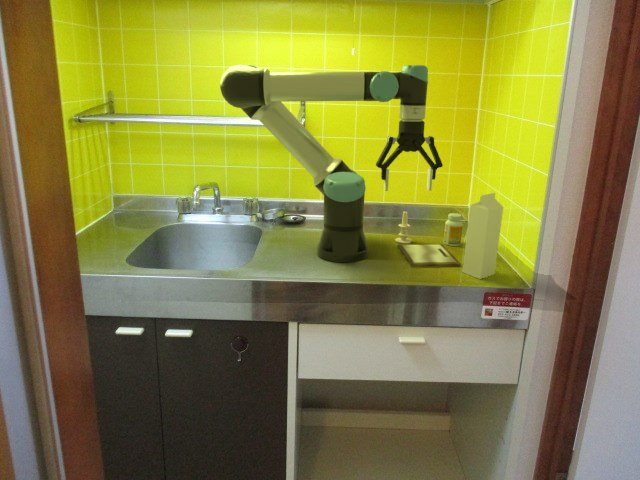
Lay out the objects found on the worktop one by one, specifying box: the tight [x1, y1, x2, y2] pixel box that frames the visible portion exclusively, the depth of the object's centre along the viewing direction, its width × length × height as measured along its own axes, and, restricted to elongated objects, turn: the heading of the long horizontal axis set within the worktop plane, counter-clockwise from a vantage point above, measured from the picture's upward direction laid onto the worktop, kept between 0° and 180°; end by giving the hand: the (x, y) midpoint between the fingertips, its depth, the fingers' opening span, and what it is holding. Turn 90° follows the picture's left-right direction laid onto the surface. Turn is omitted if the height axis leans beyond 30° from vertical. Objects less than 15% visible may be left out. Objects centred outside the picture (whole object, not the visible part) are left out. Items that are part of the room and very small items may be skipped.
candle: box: [394, 210, 412, 245], centre depth 158 cm, size 5×5×10 cm
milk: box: [462, 192, 504, 280], centre depth 130 cm, size 6×6×22 cm
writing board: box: [397, 243, 462, 268], centre depth 146 cm, size 14×17×1 cm
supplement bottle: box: [442, 212, 464, 247], centre depth 156 cm, size 5×5×10 cm
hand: (407, 190), depth 154 cm, fingers open, 13 cm apart
